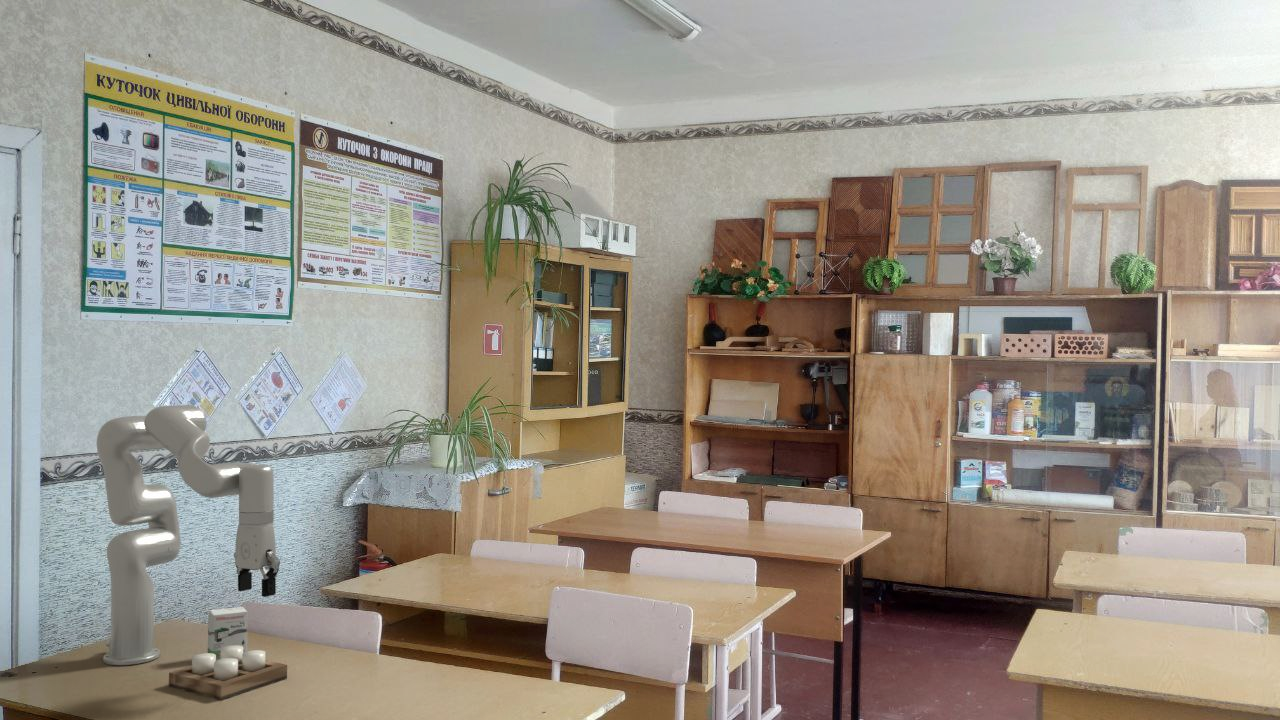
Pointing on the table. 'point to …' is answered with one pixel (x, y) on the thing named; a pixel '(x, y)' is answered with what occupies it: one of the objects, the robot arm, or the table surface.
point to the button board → (227, 681)
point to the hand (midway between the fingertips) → (256, 592)
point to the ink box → (227, 629)
